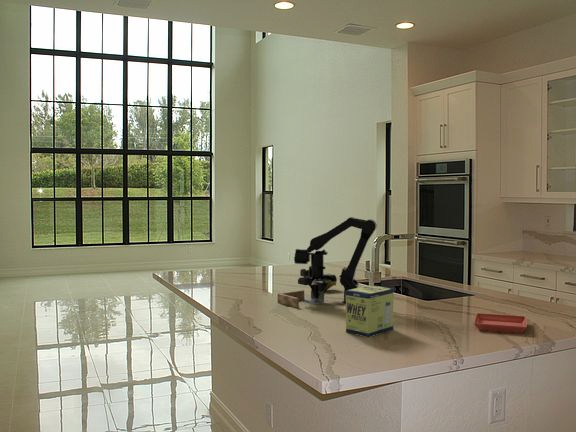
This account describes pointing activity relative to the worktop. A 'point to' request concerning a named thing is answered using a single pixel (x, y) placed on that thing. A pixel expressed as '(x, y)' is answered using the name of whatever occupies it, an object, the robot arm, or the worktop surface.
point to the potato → (330, 284)
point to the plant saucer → (500, 322)
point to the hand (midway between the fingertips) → (317, 298)
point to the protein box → (369, 310)
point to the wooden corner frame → (291, 298)
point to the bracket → (315, 301)
